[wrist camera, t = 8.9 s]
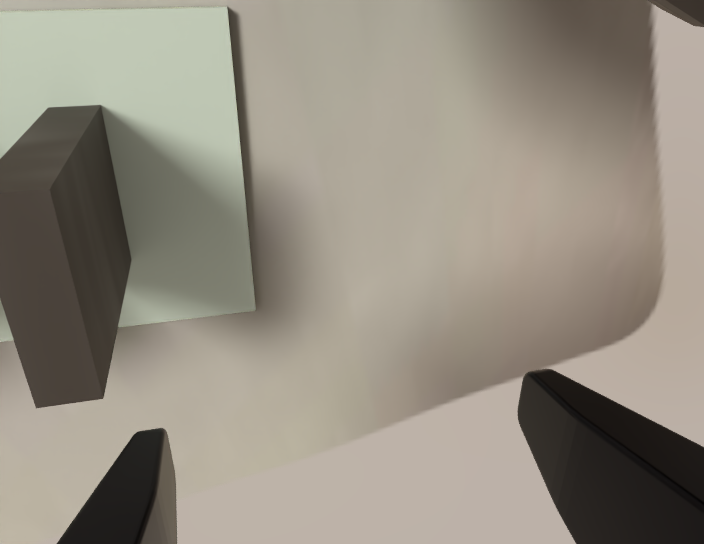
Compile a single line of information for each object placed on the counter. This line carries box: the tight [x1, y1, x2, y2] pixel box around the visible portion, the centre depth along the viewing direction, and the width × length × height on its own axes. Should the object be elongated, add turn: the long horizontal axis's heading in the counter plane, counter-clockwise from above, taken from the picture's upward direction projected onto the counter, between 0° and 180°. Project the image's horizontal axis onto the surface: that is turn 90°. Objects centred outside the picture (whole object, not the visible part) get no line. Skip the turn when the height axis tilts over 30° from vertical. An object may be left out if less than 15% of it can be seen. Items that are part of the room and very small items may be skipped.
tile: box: [0, 105, 132, 408], centre depth 15 cm, size 1×5×7 cm, turn 0°
